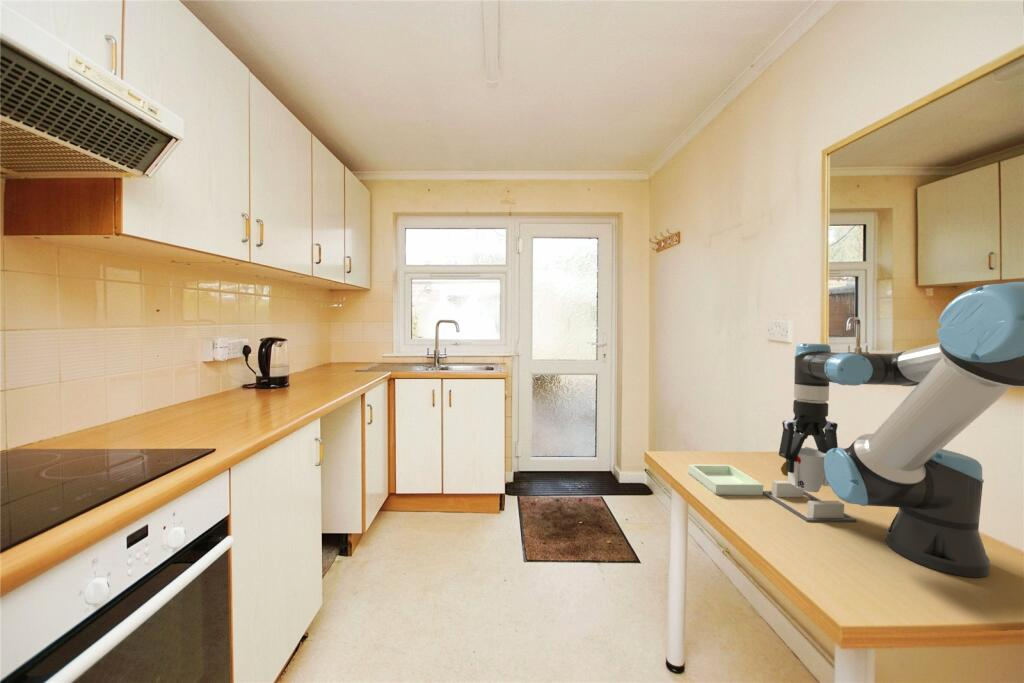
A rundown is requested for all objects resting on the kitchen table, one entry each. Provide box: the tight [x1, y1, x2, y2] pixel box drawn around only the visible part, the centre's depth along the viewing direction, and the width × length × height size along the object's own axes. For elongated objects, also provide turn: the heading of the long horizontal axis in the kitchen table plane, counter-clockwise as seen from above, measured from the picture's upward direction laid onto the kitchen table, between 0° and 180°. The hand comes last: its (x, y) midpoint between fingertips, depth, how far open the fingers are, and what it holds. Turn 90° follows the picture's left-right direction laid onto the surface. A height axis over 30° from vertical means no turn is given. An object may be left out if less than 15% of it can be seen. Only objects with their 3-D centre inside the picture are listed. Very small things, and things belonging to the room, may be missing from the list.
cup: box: [791, 447, 826, 493], centre depth 106 cm, size 8×8×10 cm
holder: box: [763, 480, 857, 523], centre depth 107 cm, size 17×13×4 cm
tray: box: [688, 464, 764, 496], centre depth 121 cm, size 16×14×3 cm
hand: (807, 484), depth 106 cm, fingers closed on cup, 8 cm apart
